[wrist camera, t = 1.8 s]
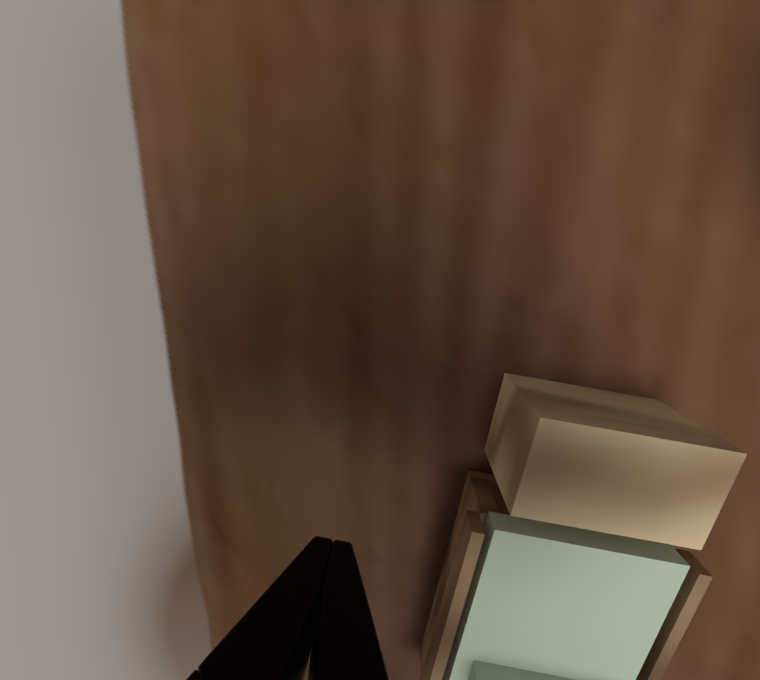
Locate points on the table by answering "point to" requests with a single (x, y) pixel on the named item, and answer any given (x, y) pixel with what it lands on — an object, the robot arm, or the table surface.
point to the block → (607, 462)
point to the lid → (562, 603)
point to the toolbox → (460, 567)
